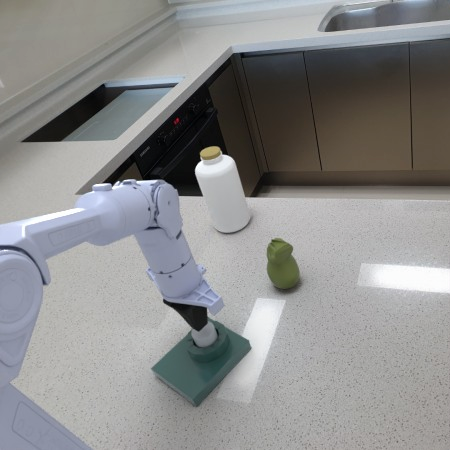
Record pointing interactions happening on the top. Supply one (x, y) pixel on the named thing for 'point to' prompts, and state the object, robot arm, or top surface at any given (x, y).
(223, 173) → the white bottle
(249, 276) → the top surface
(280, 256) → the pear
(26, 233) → the robot arm
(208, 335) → the light grey short cylinder
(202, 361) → the green socket base
